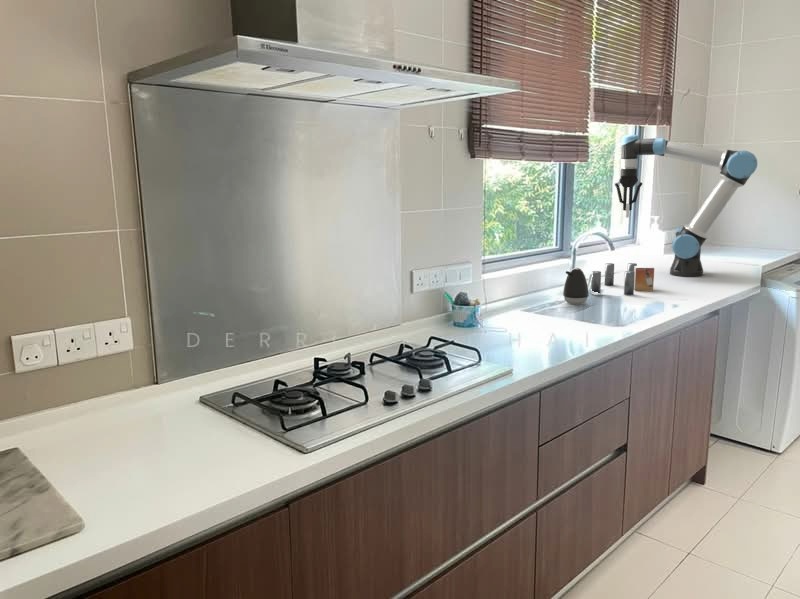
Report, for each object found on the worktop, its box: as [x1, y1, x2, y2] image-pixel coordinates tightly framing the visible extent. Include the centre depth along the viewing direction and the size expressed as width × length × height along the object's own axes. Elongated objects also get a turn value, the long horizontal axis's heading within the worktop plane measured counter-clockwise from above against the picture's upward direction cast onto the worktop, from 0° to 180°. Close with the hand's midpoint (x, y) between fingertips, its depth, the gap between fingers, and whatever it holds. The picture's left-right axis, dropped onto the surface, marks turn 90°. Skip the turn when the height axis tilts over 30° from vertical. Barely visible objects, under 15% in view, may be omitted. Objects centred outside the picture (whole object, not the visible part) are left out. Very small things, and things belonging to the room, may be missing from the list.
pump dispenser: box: [562, 267, 590, 306], centre depth 265 cm, size 10×10×15 cm
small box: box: [634, 265, 655, 292], centre depth 287 cm, size 8×6×10 cm
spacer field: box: [590, 262, 638, 296], centre depth 289 cm, size 22×24×10 cm
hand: (627, 217), depth 313 cm, fingers closed
